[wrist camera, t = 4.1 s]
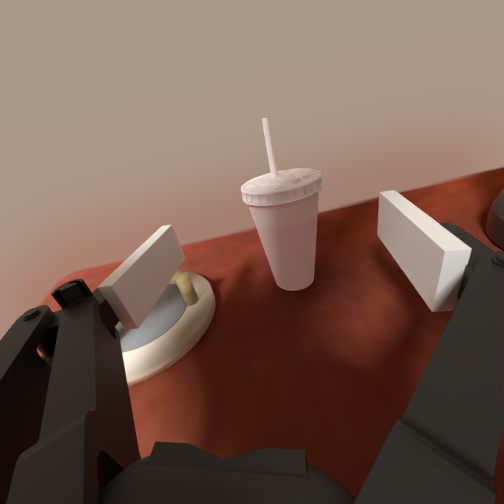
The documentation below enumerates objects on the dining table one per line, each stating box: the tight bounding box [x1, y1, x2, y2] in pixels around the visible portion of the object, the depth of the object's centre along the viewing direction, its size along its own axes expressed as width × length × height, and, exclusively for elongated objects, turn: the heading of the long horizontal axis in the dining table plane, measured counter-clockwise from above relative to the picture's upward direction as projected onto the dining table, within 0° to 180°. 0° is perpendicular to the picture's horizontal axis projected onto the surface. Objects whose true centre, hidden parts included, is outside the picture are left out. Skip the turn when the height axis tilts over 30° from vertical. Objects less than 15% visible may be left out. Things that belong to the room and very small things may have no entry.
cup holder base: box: [113, 268, 216, 387], centre depth 21 cm, size 13×13×4 cm
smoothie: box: [241, 117, 323, 291], centre depth 20 cm, size 6×6×14 cm
